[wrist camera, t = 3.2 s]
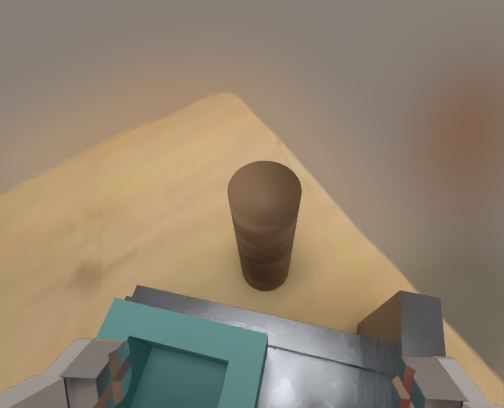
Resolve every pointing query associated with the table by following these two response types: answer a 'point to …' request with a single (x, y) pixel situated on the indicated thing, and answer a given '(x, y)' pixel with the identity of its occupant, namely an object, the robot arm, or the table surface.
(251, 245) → the dowel
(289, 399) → the track
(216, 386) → the socket block
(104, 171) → the table surface
